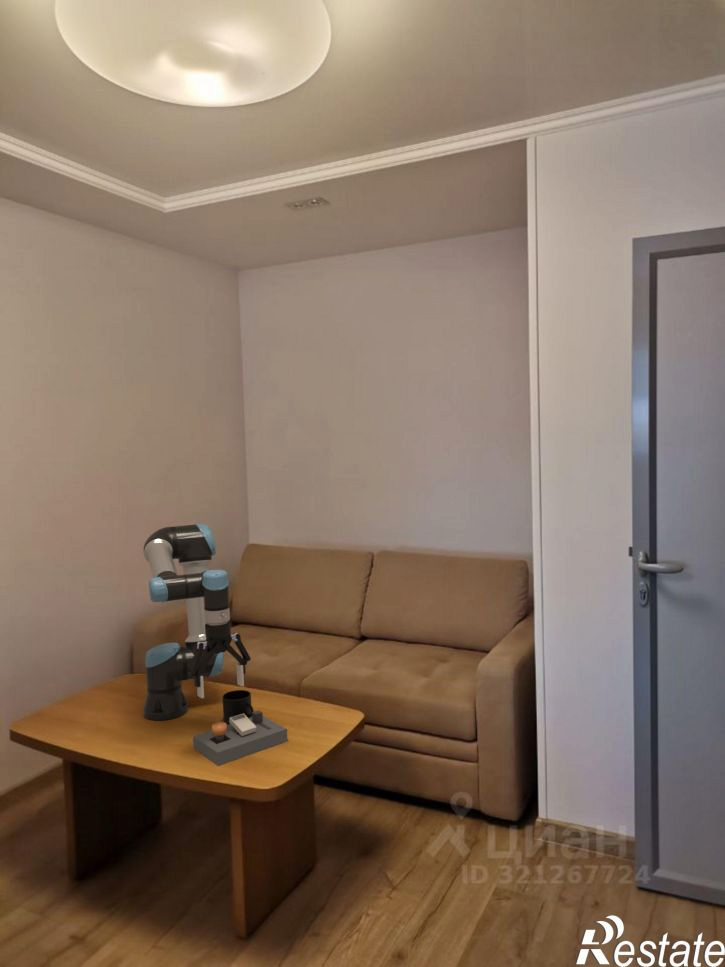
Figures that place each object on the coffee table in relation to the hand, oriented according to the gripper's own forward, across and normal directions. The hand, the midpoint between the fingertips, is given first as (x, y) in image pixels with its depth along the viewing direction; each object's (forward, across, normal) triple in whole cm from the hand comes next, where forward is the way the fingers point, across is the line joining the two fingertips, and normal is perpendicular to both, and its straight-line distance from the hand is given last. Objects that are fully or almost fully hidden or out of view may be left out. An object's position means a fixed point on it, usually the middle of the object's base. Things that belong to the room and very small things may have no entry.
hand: (221, 691), depth 222 cm
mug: (+19, +15, +16) cm, 29 cm away
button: (+16, -1, 0) cm, 16 cm away
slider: (+15, +14, +3) cm, 21 cm away
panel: (+19, +6, 0) cm, 20 cm away
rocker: (+13, +7, 0) cm, 14 cm away
